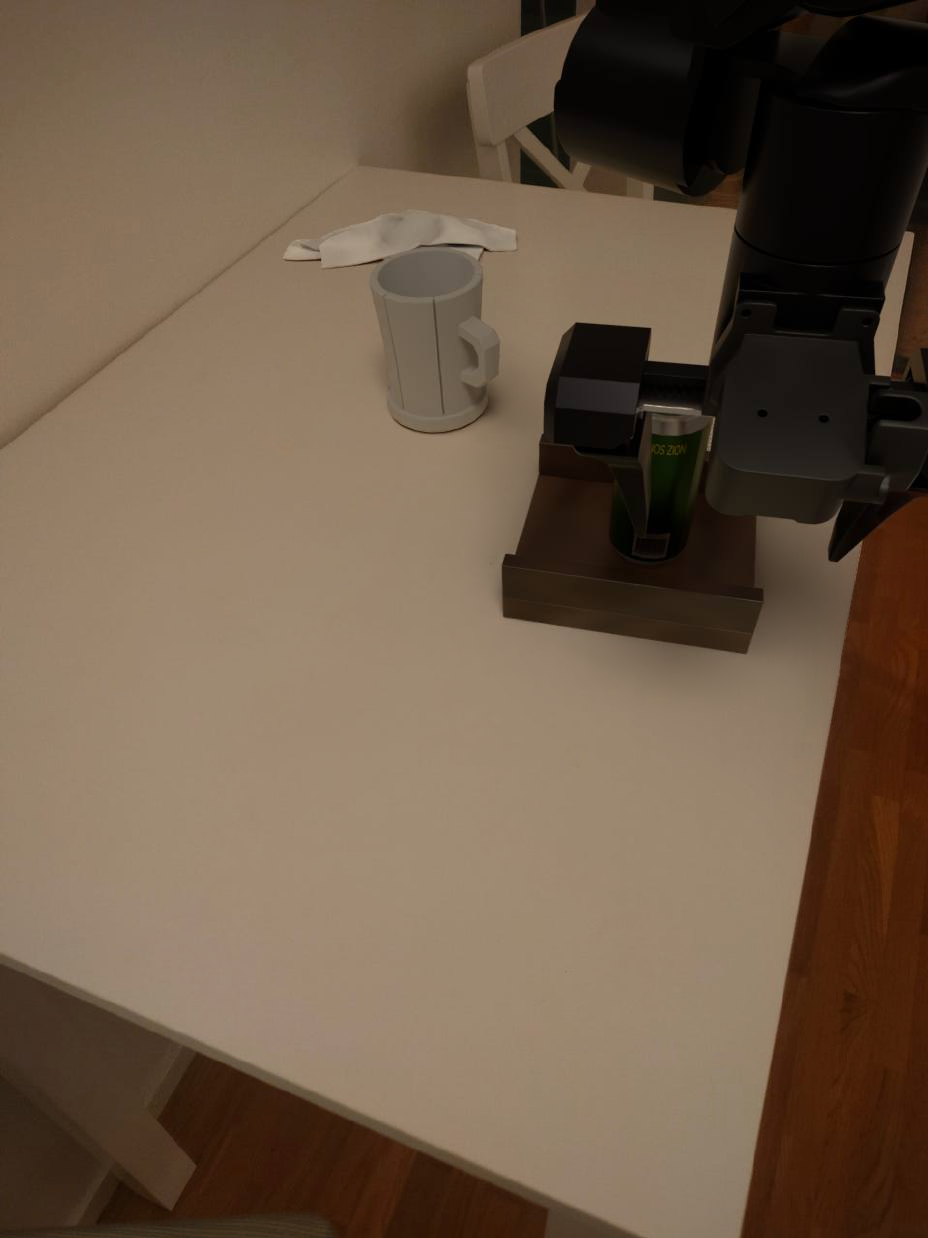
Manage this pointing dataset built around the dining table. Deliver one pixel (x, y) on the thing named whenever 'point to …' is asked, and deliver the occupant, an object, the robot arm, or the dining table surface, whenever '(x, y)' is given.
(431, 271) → the cup
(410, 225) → the cloth
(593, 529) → the rack
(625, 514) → the beer can
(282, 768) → the dining table surface
